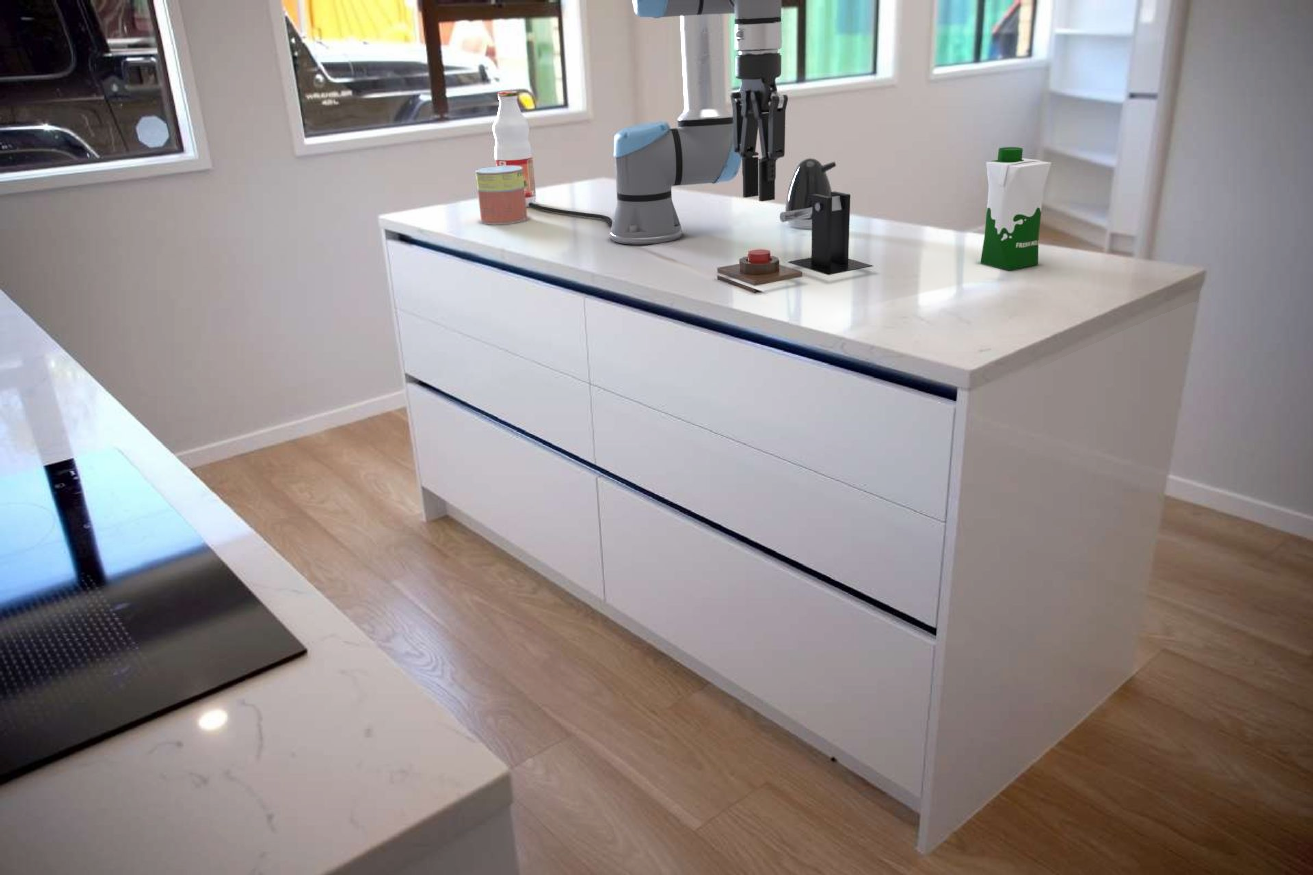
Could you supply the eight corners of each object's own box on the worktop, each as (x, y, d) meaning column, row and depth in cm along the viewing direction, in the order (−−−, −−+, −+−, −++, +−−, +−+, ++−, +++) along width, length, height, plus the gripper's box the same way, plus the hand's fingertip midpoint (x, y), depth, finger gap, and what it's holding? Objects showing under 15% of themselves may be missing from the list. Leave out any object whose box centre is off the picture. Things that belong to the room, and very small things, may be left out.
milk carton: (1008, 256, 185) (1018, 145, 177) (1046, 265, 178) (1059, 149, 170) (972, 263, 181) (981, 150, 174) (1010, 272, 174) (1021, 155, 166)
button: (743, 261, 176) (743, 251, 175) (762, 258, 177) (762, 248, 177) (756, 265, 172) (755, 255, 172) (775, 262, 174) (775, 252, 173)
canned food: (536, 219, 239) (531, 168, 234) (493, 226, 233) (487, 174, 229) (514, 213, 248) (509, 164, 243) (473, 220, 242) (467, 169, 237)
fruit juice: (544, 203, 258) (534, 90, 247) (518, 210, 252) (506, 93, 241) (519, 201, 264) (508, 89, 253) (492, 207, 257) (480, 93, 246)
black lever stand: (787, 269, 183) (788, 193, 178) (830, 261, 188) (832, 187, 182) (827, 282, 174) (829, 202, 168) (872, 273, 178) (876, 195, 172)
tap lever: (780, 224, 185) (778, 211, 185) (806, 220, 188) (804, 207, 188) (823, 212, 173) (821, 198, 173) (850, 208, 176) (848, 194, 176)
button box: (717, 279, 179) (716, 257, 177) (763, 271, 183) (763, 249, 182) (754, 293, 169) (754, 270, 168) (802, 284, 173) (802, 261, 172)
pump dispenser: (833, 236, 207) (835, 161, 201) (783, 236, 209) (783, 162, 203) (835, 226, 216) (837, 154, 210) (787, 226, 218) (787, 155, 212)
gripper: (710, 53, 167) (713, 194, 176) (769, 54, 153) (769, 208, 162) (747, 50, 170) (749, 189, 179) (809, 51, 156) (807, 202, 165)
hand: (758, 198), depth 170 cm, fingers open, 4 cm apart
